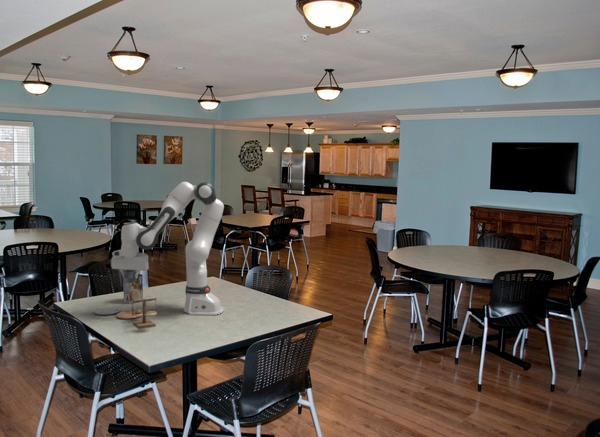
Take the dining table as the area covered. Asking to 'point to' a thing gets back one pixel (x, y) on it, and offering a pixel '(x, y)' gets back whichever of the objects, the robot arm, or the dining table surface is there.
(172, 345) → the dining table surface
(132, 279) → the block
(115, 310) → the grey dish
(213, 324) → the dining table surface
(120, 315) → the terracotta dish
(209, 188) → the robot arm
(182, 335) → the dining table surface
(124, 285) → the coffee box
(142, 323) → the balance
